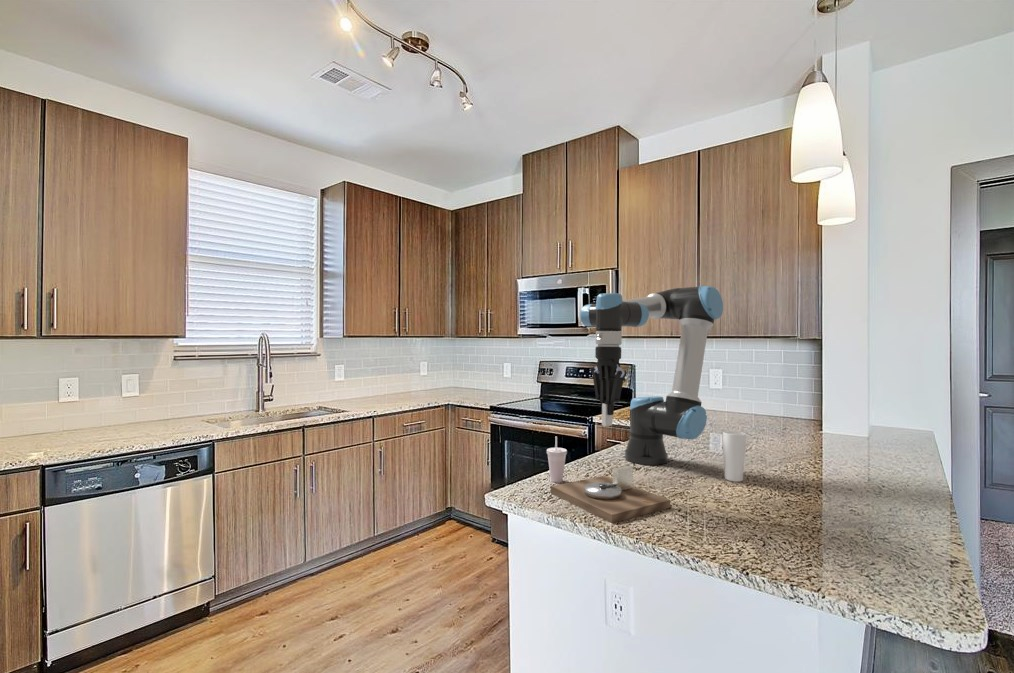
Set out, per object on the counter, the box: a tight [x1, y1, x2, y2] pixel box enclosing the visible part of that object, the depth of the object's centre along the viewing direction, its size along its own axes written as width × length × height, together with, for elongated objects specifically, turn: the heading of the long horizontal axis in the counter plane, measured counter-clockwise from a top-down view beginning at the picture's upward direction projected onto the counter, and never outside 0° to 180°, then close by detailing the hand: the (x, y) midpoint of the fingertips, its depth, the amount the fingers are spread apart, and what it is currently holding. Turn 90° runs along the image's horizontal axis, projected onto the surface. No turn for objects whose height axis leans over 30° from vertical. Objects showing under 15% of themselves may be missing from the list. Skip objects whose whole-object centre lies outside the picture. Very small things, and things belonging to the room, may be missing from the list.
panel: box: [550, 475, 671, 524], centre depth 133 cm, size 21×25×2 cm
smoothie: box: [546, 436, 568, 484], centre depth 150 cm, size 6×6×14 cm
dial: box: [584, 465, 634, 500], centre depth 133 cm, size 16×10×6 cm, turn 121°
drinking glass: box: [722, 430, 747, 483], centre depth 153 cm, size 7×7×15 cm
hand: (607, 425), depth 142 cm, fingers closed
